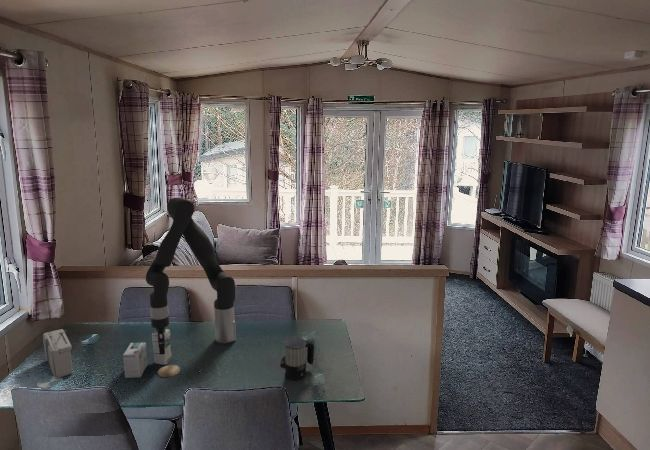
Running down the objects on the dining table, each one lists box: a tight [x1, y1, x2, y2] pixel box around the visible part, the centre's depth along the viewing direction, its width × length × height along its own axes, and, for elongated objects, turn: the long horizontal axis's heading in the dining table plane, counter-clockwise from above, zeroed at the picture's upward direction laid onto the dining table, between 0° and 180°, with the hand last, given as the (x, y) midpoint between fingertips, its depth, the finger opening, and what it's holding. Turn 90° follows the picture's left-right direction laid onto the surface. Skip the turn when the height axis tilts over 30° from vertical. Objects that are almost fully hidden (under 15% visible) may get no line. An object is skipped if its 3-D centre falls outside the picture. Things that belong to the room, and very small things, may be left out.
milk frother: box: [280, 337, 315, 381], centre depth 206 cm, size 14×16×15 cm
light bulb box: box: [122, 342, 148, 379], centre depth 205 cm, size 11×7×11 cm, turn 5°
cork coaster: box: [157, 364, 181, 378], centre depth 206 cm, size 9×9×1 cm
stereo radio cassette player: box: [42, 328, 74, 379], centre depth 206 cm, size 21×8×20 cm, turn 37°
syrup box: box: [151, 327, 173, 366], centre depth 212 cm, size 6×6×14 cm
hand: (162, 349), depth 213 cm, fingers open, 8 cm apart
